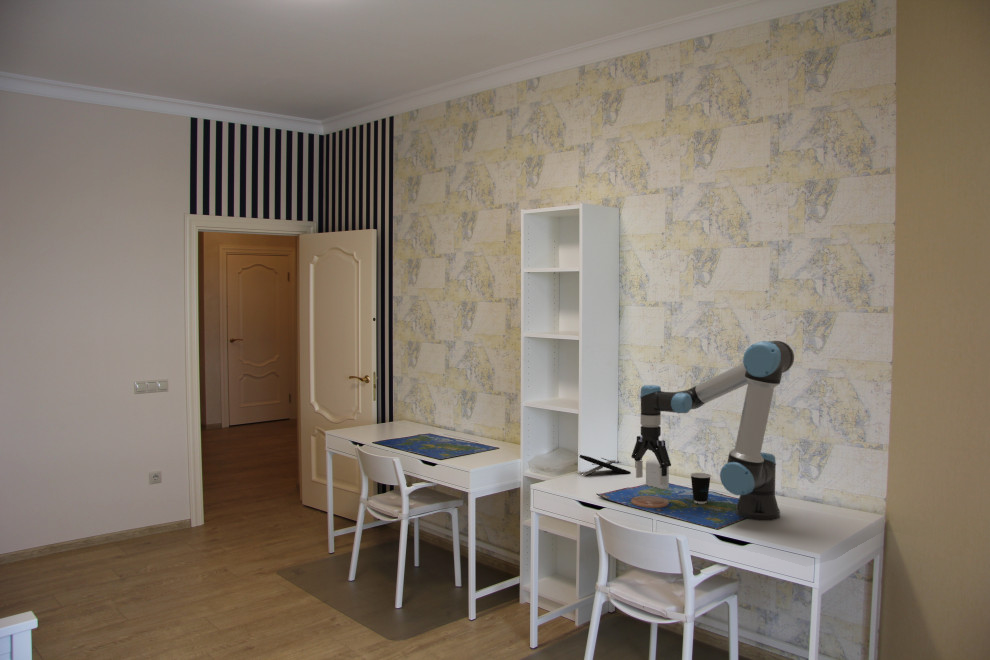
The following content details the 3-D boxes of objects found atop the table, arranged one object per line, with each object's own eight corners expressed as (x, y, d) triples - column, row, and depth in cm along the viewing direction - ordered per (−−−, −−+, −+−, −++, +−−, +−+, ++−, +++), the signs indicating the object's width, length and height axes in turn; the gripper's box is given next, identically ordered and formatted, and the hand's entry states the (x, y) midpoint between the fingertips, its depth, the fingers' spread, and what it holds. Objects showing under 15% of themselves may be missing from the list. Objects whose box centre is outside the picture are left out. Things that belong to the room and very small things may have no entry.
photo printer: (644, 486, 308) (644, 457, 307) (650, 484, 310) (650, 455, 310) (663, 490, 300) (664, 461, 300) (670, 489, 303) (670, 459, 302)
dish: (676, 505, 277) (676, 501, 277) (647, 509, 271) (647, 506, 271) (652, 496, 290) (652, 493, 290) (623, 501, 283) (623, 497, 283)
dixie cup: (706, 506, 276) (706, 478, 276) (686, 503, 281) (687, 475, 280) (713, 502, 282) (714, 474, 282) (694, 498, 287) (694, 471, 287)
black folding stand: (619, 471, 337) (620, 450, 337) (631, 476, 328) (631, 453, 328) (578, 475, 330) (578, 453, 330) (588, 479, 321) (588, 457, 320)
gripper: (680, 429, 270) (680, 486, 271) (637, 421, 292) (637, 473, 293) (665, 430, 267) (665, 488, 267) (622, 422, 289) (622, 475, 289)
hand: (650, 480), depth 280 cm, fingers open, 13 cm apart
